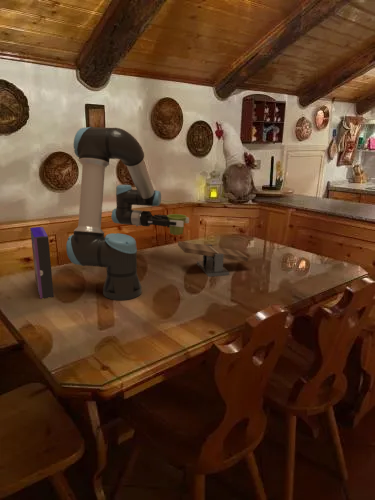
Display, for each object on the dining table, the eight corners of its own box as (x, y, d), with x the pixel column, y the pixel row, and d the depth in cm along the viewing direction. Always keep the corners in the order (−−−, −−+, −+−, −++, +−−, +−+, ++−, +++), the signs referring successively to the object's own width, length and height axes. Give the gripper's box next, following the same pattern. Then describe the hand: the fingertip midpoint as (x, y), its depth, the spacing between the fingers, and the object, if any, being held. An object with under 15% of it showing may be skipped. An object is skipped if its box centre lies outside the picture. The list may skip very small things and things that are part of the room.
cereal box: (35, 283, 150) (30, 227, 143) (48, 281, 152) (42, 226, 146) (40, 299, 136) (34, 238, 129) (53, 296, 138) (48, 236, 131)
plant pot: (185, 231, 178) (186, 214, 175) (186, 236, 169) (187, 218, 166) (166, 231, 177) (167, 213, 175) (166, 235, 168) (167, 217, 166)
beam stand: (229, 274, 165) (230, 254, 163) (208, 276, 163) (209, 255, 160) (215, 262, 182) (216, 243, 179) (196, 264, 179) (197, 244, 176)
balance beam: (237, 254, 181) (238, 250, 180) (247, 261, 170) (248, 257, 169) (177, 245, 170) (178, 241, 170) (184, 252, 159) (185, 248, 159)
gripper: (150, 221, 187) (192, 225, 181) (133, 230, 167) (179, 234, 161) (150, 207, 185) (192, 210, 179) (132, 214, 165) (179, 218, 159)
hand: (186, 222), depth 170 cm, fingers closed on plant pot, 8 cm apart
